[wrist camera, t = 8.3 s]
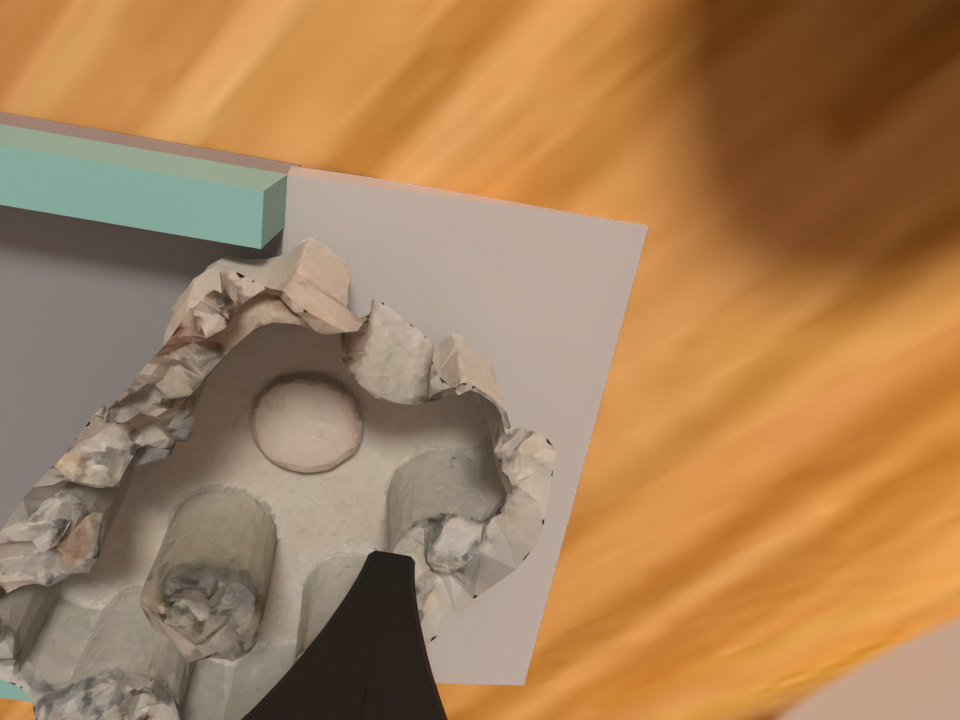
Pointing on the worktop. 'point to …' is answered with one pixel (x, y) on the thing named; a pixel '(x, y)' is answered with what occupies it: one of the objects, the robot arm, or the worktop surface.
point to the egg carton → (259, 498)
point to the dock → (374, 275)
